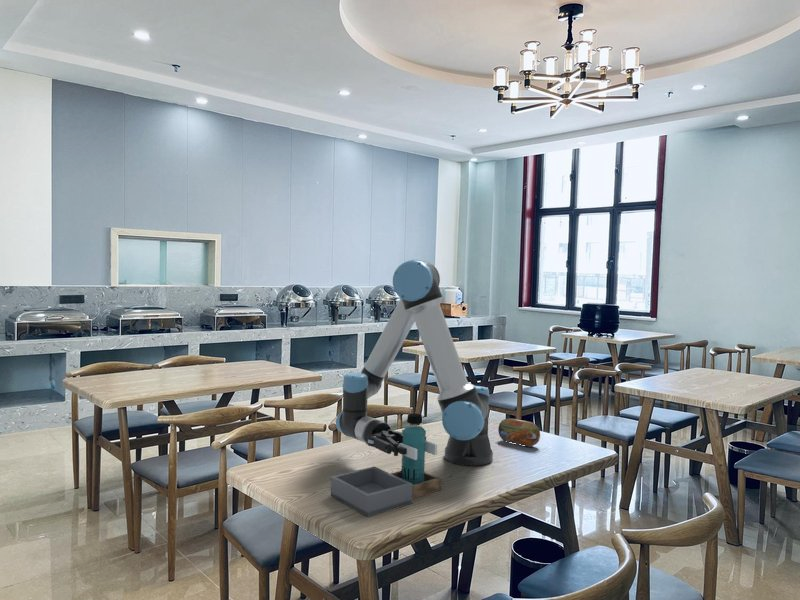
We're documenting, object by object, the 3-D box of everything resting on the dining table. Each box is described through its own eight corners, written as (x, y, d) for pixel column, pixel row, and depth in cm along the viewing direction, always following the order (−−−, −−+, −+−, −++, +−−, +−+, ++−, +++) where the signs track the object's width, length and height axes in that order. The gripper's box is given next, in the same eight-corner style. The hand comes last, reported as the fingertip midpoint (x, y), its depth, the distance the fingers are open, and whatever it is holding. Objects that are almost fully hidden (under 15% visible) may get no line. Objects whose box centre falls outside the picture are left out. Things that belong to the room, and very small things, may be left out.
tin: (497, 440, 204) (498, 416, 204) (501, 438, 207) (502, 415, 206) (536, 449, 195) (537, 424, 194) (541, 447, 197) (541, 423, 197)
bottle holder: (414, 477, 165) (414, 467, 165) (441, 489, 156) (441, 478, 156) (383, 486, 158) (384, 475, 158) (410, 498, 149) (410, 487, 149)
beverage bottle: (421, 482, 161) (424, 411, 160) (426, 491, 154) (429, 417, 153) (398, 483, 160) (401, 411, 159) (402, 492, 153) (404, 417, 152)
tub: (373, 484, 159) (374, 466, 158) (412, 503, 146) (412, 483, 146) (330, 495, 150) (330, 476, 150) (367, 516, 137) (367, 496, 137)
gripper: (398, 439, 177) (452, 459, 159) (345, 450, 164) (397, 473, 147) (399, 415, 176) (452, 432, 158) (346, 424, 164) (398, 444, 146)
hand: (426, 452), depth 153 cm, fingers closed on beverage bottle, 6 cm apart
